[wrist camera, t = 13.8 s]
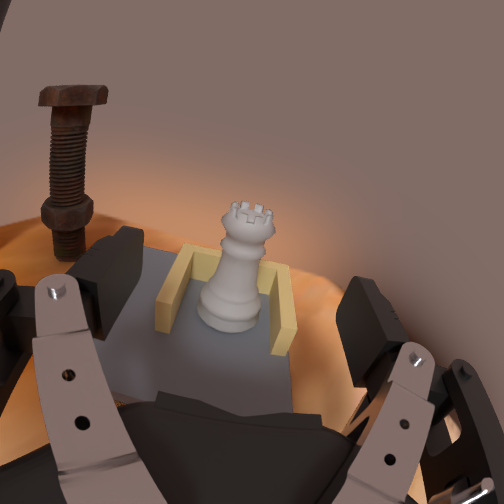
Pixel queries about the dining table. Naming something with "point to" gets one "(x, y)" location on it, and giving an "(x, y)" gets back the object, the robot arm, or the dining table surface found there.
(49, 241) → the dining table surface
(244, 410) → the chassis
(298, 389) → the dining table surface
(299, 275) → the dining table surface
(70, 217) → the bolt
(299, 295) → the dining table surface
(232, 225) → the rook chess piece
